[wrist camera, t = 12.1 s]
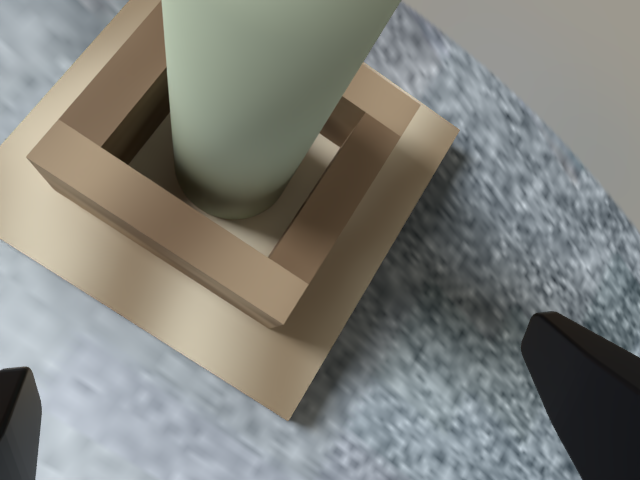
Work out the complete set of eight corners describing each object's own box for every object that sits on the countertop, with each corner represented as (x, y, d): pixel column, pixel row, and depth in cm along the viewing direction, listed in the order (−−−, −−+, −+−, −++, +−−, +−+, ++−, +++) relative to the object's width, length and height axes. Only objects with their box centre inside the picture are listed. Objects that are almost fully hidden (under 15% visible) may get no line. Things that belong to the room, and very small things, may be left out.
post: (304, 201, 22) (457, 11, 9) (195, 234, 21) (205, 65, 8) (267, 99, 22) (369, -212, 10) (159, 125, 21) (117, -191, 9)
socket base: (444, 142, 25) (503, 94, 21) (281, 416, 22) (307, 435, 17) (186, -39, 24) (184, -135, 20) (-36, 215, 20) (-105, 174, 16)
